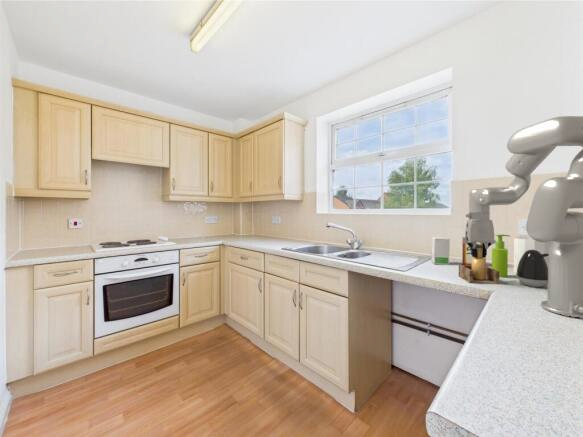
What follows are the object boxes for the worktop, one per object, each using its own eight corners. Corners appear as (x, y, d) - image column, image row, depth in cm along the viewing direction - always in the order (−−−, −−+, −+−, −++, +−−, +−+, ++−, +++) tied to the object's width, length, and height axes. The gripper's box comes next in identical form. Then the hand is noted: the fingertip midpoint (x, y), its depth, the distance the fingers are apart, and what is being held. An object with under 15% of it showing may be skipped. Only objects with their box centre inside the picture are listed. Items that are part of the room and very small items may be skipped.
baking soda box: (463, 264, 148) (463, 237, 147) (462, 262, 154) (462, 236, 153) (483, 266, 143) (483, 238, 142) (481, 264, 149) (482, 236, 148)
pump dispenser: (538, 290, 102) (539, 252, 101) (510, 283, 112) (510, 248, 111) (556, 287, 104) (557, 250, 104) (527, 281, 114) (527, 247, 114)
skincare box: (433, 264, 151) (433, 238, 150) (431, 262, 157) (431, 236, 156) (449, 265, 148) (450, 238, 148) (446, 262, 154) (446, 237, 154)
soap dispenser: (512, 277, 120) (513, 235, 119) (496, 277, 121) (496, 235, 120) (505, 274, 126) (505, 234, 125) (489, 274, 127) (489, 234, 126)
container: (519, 276, 123) (519, 239, 122) (509, 270, 135) (510, 236, 135) (560, 279, 116) (561, 240, 115) (546, 272, 129) (547, 237, 128)
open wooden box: (499, 284, 110) (499, 271, 110) (469, 283, 113) (469, 270, 113) (485, 277, 121) (485, 265, 121) (458, 276, 124) (458, 265, 124)
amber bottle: (488, 279, 113) (488, 246, 113) (474, 279, 114) (475, 245, 114) (482, 276, 118) (482, 244, 118) (469, 276, 120) (469, 244, 119)
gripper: (462, 217, 113) (462, 258, 114) (505, 216, 110) (504, 259, 111) (455, 216, 121) (455, 255, 121) (495, 216, 117) (494, 256, 118)
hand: (478, 256), depth 116 cm, fingers closed on amber bottle, 2 cm apart
